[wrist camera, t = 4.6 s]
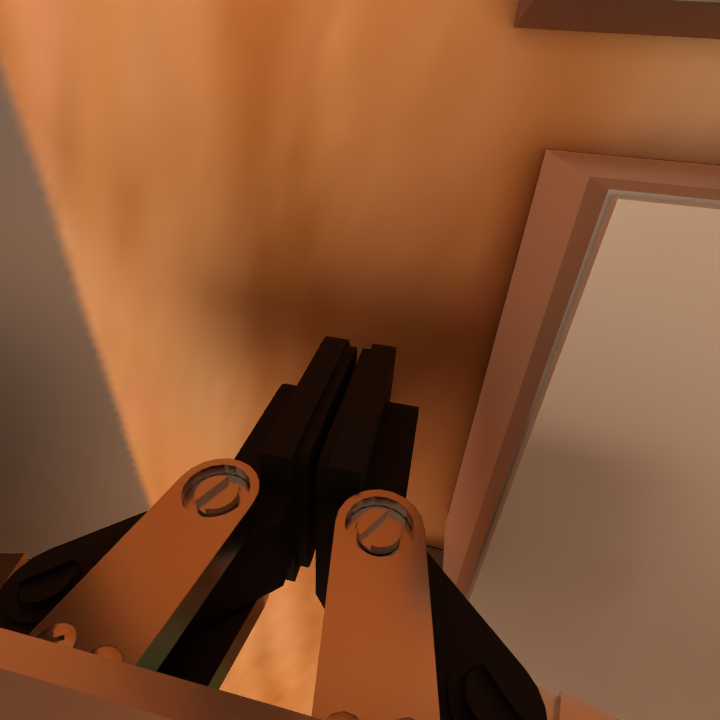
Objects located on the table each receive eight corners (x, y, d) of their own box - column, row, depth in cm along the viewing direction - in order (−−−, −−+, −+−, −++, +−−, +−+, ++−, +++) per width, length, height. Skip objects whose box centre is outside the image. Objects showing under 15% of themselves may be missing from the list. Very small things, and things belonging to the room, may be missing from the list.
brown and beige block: (1070, 194, 7) (1801, 315, 3) (716, 585, 13) (820, 788, 9) (544, 145, 8) (614, 193, 4) (443, 526, 14) (434, 686, 10)
